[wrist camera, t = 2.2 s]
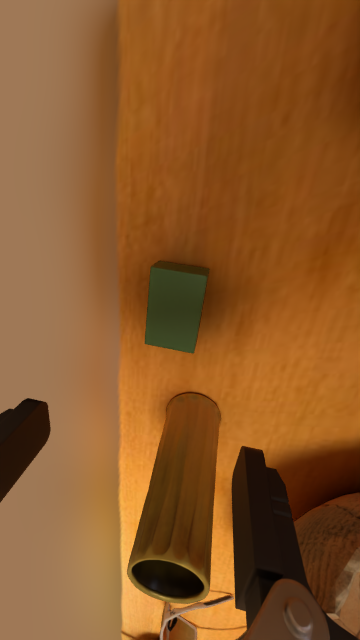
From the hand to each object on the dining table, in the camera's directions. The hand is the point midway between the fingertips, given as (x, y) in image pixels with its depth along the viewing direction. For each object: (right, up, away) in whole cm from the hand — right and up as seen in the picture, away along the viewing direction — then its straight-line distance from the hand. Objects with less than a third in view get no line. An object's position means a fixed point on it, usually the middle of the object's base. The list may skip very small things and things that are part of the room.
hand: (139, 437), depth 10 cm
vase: (+3, -6, +18) cm, 20 cm away
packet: (+2, +6, +13) cm, 15 cm away
